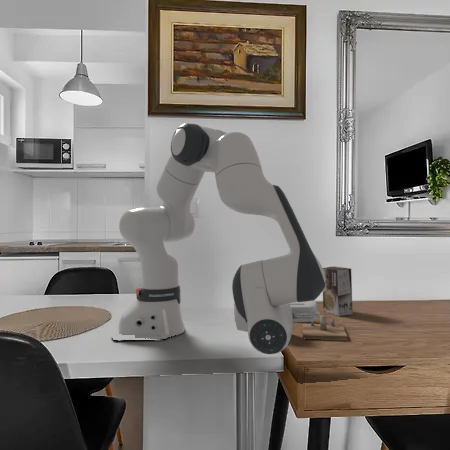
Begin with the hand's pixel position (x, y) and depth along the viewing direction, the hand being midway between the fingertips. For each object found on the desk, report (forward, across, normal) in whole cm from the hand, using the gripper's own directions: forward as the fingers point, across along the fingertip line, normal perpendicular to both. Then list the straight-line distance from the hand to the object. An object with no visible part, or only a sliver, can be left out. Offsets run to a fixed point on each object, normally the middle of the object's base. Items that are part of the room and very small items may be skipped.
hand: (276, 303), depth 100 cm
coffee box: (+41, -19, +12) cm, 47 cm away
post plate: (+15, -12, +12) cm, 23 cm away
